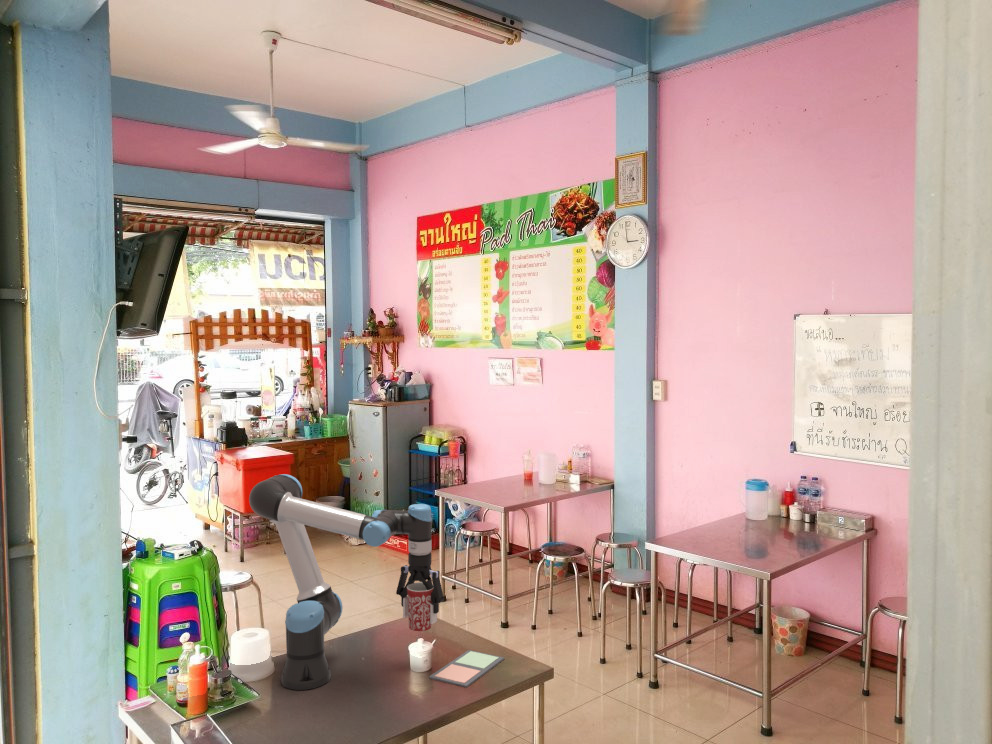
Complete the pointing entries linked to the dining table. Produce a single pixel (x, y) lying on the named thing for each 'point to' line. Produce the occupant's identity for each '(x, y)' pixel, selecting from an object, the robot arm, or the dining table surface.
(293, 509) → the robot arm
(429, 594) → the mug
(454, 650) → the dining table surface
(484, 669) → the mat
